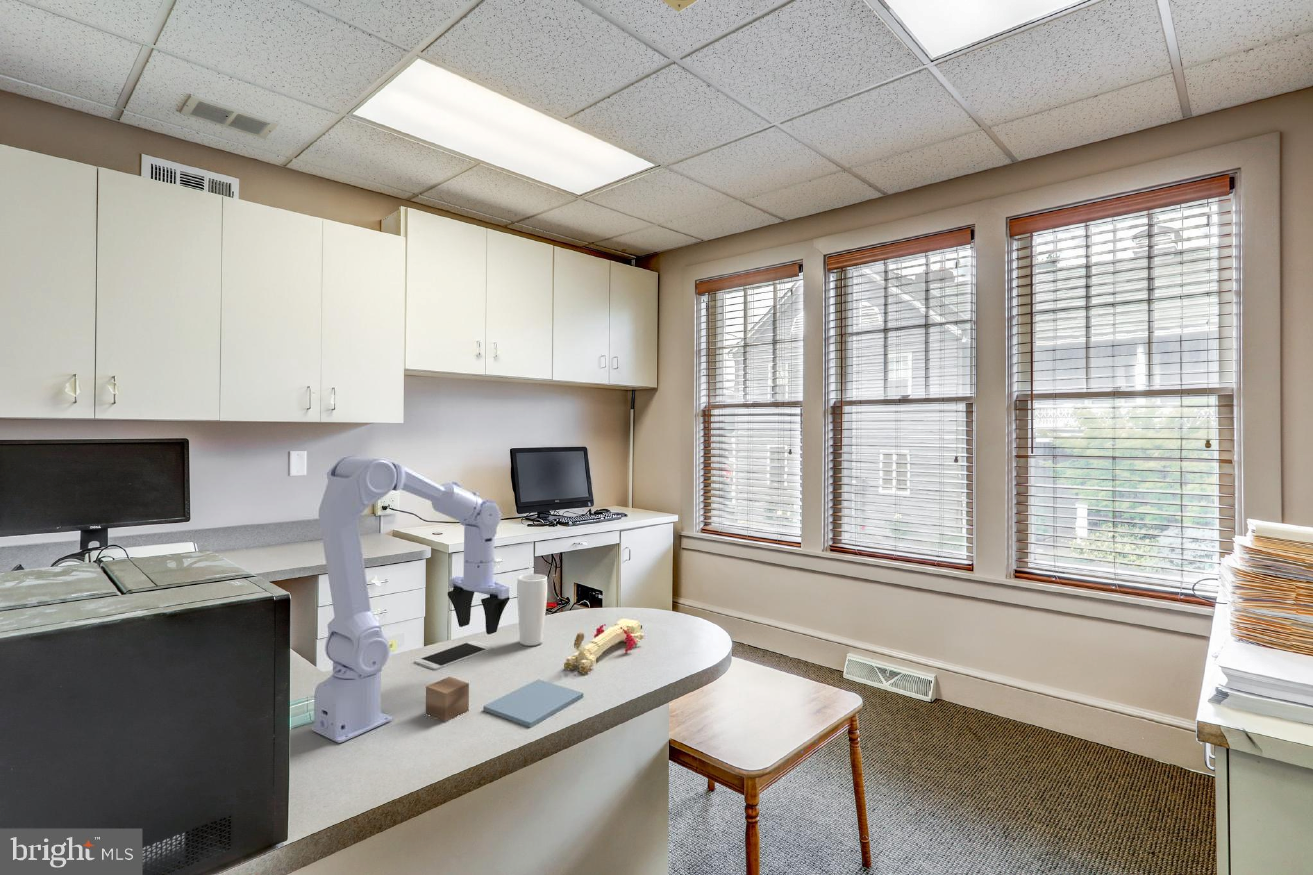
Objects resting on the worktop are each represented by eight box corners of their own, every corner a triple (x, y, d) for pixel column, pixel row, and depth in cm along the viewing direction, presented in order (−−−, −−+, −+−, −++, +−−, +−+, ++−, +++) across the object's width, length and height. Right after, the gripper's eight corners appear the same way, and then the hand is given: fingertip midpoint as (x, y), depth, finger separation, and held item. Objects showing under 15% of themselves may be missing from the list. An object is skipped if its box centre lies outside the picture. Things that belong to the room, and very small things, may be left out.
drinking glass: (513, 639, 147) (514, 575, 146) (542, 636, 150) (543, 572, 149) (520, 649, 141) (520, 582, 140) (550, 645, 143) (551, 579, 143)
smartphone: (494, 650, 141) (494, 646, 141) (435, 672, 128) (435, 668, 128) (472, 643, 145) (472, 639, 145) (413, 664, 132) (413, 660, 132)
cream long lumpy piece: (596, 683, 127) (655, 637, 149) (595, 641, 126) (654, 600, 148) (556, 673, 131) (618, 629, 153) (554, 632, 131) (617, 594, 153)
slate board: (530, 727, 105) (530, 722, 105) (483, 710, 111) (483, 706, 111) (583, 697, 117) (583, 692, 117) (538, 683, 123) (538, 679, 123)
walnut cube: (445, 722, 106) (445, 693, 106) (425, 715, 109) (425, 686, 109) (468, 711, 111) (468, 683, 111) (449, 704, 113) (449, 676, 113)
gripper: (520, 561, 124) (519, 630, 124) (468, 552, 132) (467, 617, 132) (494, 567, 118) (492, 640, 118) (441, 557, 126) (439, 626, 126)
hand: (477, 629), depth 125 cm, fingers open, 7 cm apart
